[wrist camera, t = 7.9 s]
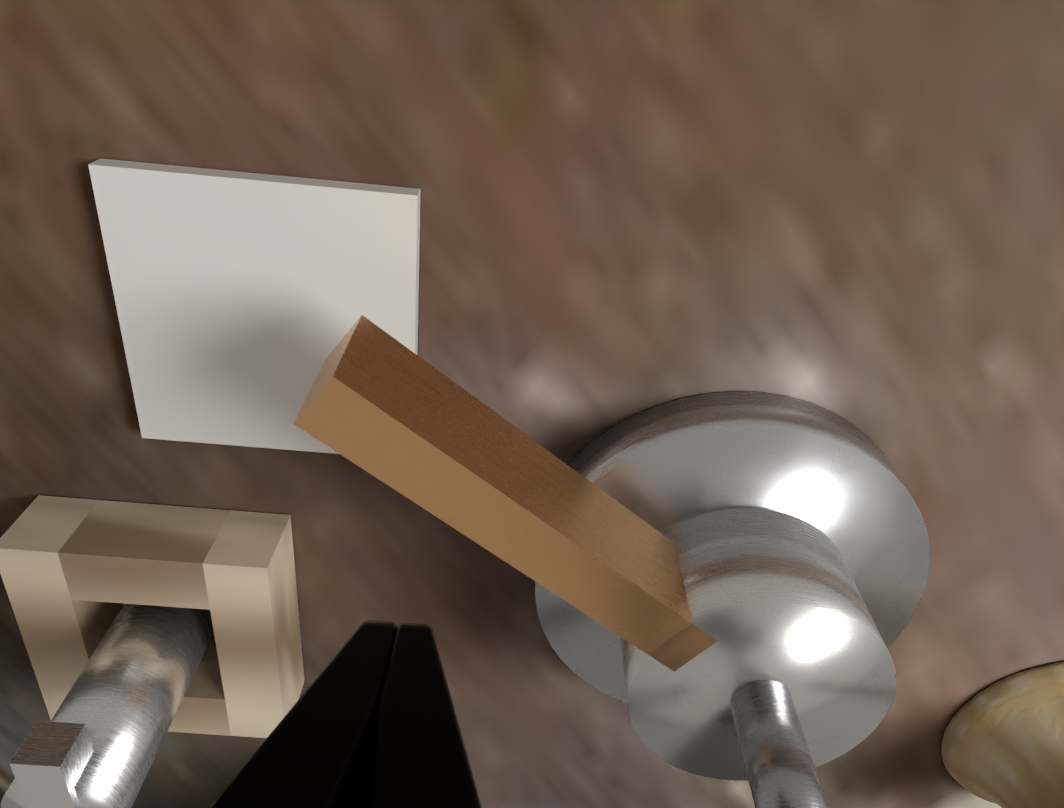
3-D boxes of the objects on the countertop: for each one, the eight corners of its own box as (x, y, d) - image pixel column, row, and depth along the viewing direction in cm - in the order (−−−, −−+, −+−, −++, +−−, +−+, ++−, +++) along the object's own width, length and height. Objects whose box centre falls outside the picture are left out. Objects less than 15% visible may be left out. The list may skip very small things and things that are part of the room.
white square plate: (415, 448, 24) (412, 460, 23) (150, 427, 24) (142, 438, 23) (420, 189, 20) (417, 195, 19) (100, 158, 19) (88, 164, 19)
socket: (304, 680, 29) (285, 739, 27) (88, 665, 29) (52, 723, 27) (290, 515, 25) (267, 568, 23) (38, 495, 25) (-9, 547, 23)
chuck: (895, 591, 24) (1033, 844, 17) (721, 705, 26) (783, 961, 20) (436, 219, 18) (375, 384, 11) (275, 414, 21) (150, 639, 14)
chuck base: (840, 682, 29) (858, 728, 27) (520, 659, 29) (519, 705, 27) (960, 409, 23) (994, 446, 21) (556, 374, 22) (557, 410, 21)
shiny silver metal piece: (233, 648, 28) (132, 880, 21) (150, 642, 28) (21, 874, 21) (217, 543, 26) (97, 769, 19) (126, 536, 26) (-29, 760, 19)
